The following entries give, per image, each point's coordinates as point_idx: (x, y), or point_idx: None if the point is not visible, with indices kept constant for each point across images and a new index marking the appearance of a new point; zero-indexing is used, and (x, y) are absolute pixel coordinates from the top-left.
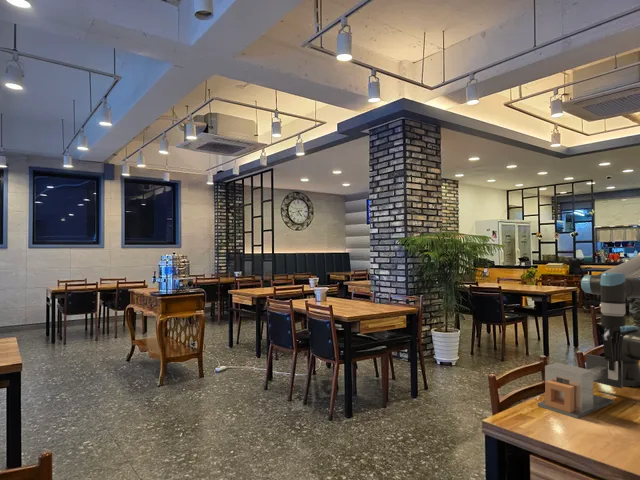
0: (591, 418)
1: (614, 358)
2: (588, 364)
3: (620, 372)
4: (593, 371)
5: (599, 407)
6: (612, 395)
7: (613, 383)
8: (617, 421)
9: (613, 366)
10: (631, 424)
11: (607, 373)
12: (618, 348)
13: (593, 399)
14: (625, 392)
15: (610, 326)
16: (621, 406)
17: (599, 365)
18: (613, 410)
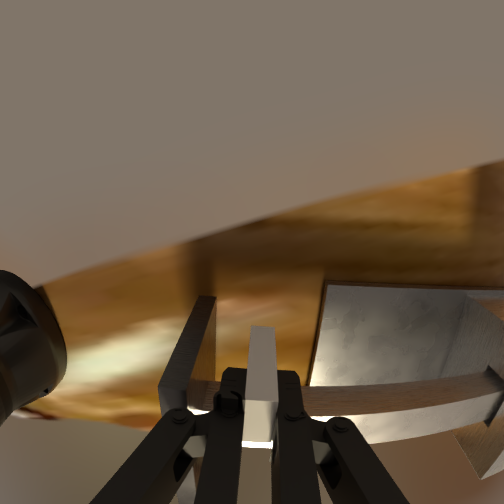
0: None
1: (309, 430)
2: None
3: (202, 343)
4: (367, 420)
5: (439, 287)
6: None
7: (213, 337)
8: (497, 207)
9: (292, 390)
10: (493, 170)
11: (209, 389)
12: (207, 495)
13: (381, 332)
14: (117, 292)
15: None
16: (339, 245)
17: None
18: (412, 249)
